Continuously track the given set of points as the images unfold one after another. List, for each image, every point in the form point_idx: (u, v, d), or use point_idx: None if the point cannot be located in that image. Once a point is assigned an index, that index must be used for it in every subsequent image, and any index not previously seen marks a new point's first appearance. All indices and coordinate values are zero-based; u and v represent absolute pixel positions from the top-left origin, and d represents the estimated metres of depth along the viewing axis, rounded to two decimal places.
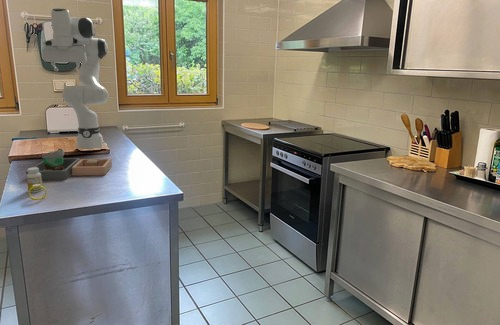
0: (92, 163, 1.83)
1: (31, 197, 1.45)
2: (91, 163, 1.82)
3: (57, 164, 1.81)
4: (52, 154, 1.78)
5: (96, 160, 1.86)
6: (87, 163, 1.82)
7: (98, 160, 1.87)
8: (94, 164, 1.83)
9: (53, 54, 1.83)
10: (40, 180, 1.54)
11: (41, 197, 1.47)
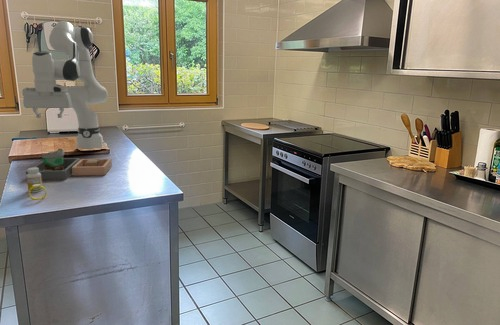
0: (92, 163, 1.83)
1: (31, 197, 1.45)
2: (91, 163, 1.82)
3: (57, 164, 1.81)
4: (52, 154, 1.78)
5: (96, 160, 1.86)
6: (87, 163, 1.82)
7: (98, 160, 1.87)
8: (94, 164, 1.83)
9: None
10: (40, 180, 1.54)
11: (41, 197, 1.47)
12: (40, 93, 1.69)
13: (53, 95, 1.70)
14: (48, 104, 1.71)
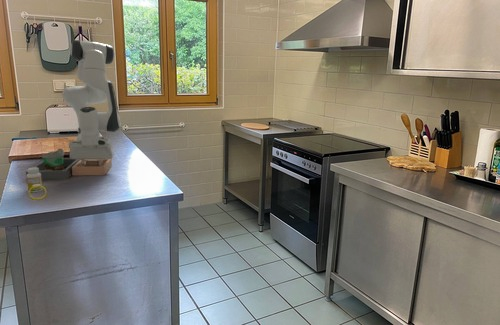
0: (92, 163, 1.82)
1: (31, 197, 1.45)
2: (91, 163, 1.82)
3: (57, 164, 1.81)
4: (52, 154, 1.78)
5: (96, 160, 1.86)
6: (87, 163, 1.82)
7: (98, 160, 1.87)
8: (94, 164, 1.83)
9: None
10: (40, 180, 1.54)
11: (41, 197, 1.47)
12: (85, 146, 1.80)
13: (98, 147, 1.81)
14: (92, 156, 1.82)
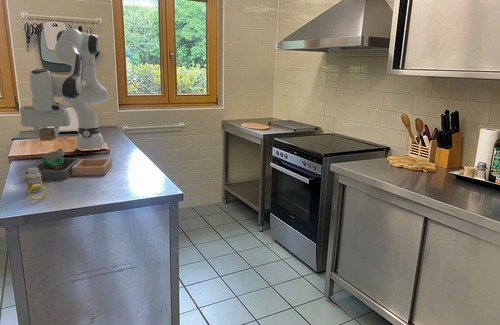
0: (46, 130, 1.68)
1: (31, 197, 1.45)
2: (45, 130, 1.68)
3: (57, 164, 1.81)
4: (52, 154, 1.78)
5: (51, 128, 1.71)
6: (40, 130, 1.67)
7: (54, 128, 1.72)
8: (48, 132, 1.68)
9: None
10: (40, 180, 1.54)
11: (41, 197, 1.47)
12: (38, 111, 1.65)
13: (52, 113, 1.67)
14: (46, 123, 1.68)
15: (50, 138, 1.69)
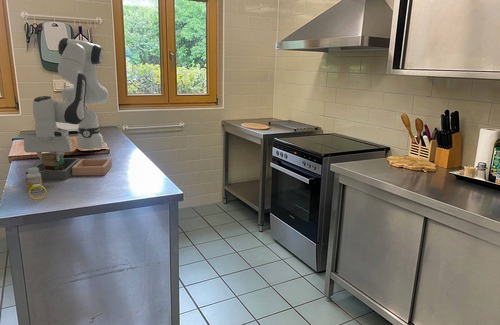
0: (48, 156, 1.71)
1: (31, 197, 1.45)
2: (47, 156, 1.71)
3: (57, 164, 1.81)
4: None
5: (53, 153, 1.74)
6: (43, 156, 1.70)
7: (56, 153, 1.75)
8: (50, 157, 1.71)
9: None
10: (40, 180, 1.54)
11: (41, 197, 1.47)
12: (41, 138, 1.68)
13: (54, 139, 1.70)
14: (48, 148, 1.71)
15: (52, 163, 1.72)
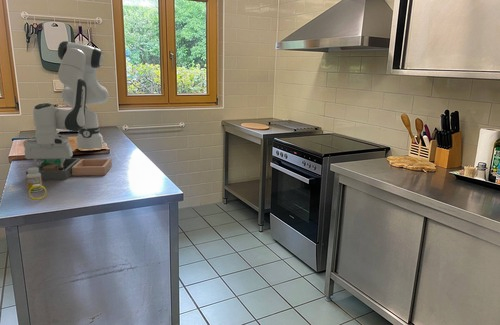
0: (49, 168, 1.72)
1: (31, 197, 1.45)
2: (48, 168, 1.72)
3: (57, 164, 1.81)
4: None
5: (55, 165, 1.76)
6: (44, 168, 1.72)
7: (57, 165, 1.77)
8: (52, 169, 1.73)
9: None
10: (40, 180, 1.54)
11: (41, 197, 1.47)
12: (41, 145, 1.69)
13: (55, 146, 1.71)
14: (49, 155, 1.71)
15: None
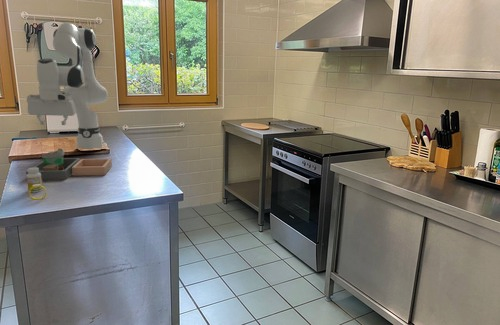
0: (49, 168, 1.72)
1: (31, 197, 1.45)
2: (48, 168, 1.72)
3: (57, 164, 1.81)
4: (52, 154, 1.78)
5: (55, 165, 1.76)
6: (44, 168, 1.72)
7: (57, 165, 1.76)
8: (52, 169, 1.73)
9: None
10: (40, 180, 1.54)
11: (41, 197, 1.47)
12: (44, 100, 1.69)
13: (58, 103, 1.70)
14: (52, 112, 1.71)
15: None
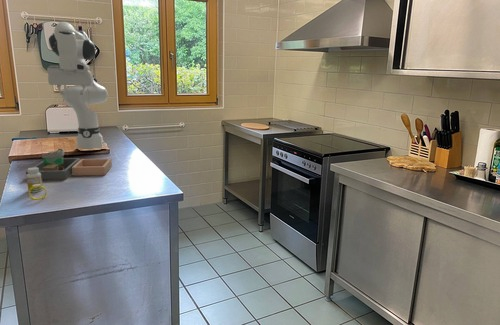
0: (49, 168, 1.72)
1: (31, 197, 1.45)
2: (48, 168, 1.72)
3: (57, 164, 1.81)
4: (52, 154, 1.78)
5: (55, 165, 1.76)
6: (44, 168, 1.72)
7: (57, 165, 1.76)
8: (52, 169, 1.73)
9: None
10: (40, 180, 1.54)
11: (41, 197, 1.47)
12: (64, 70, 1.78)
13: (77, 72, 1.79)
14: (71, 81, 1.80)
15: None
